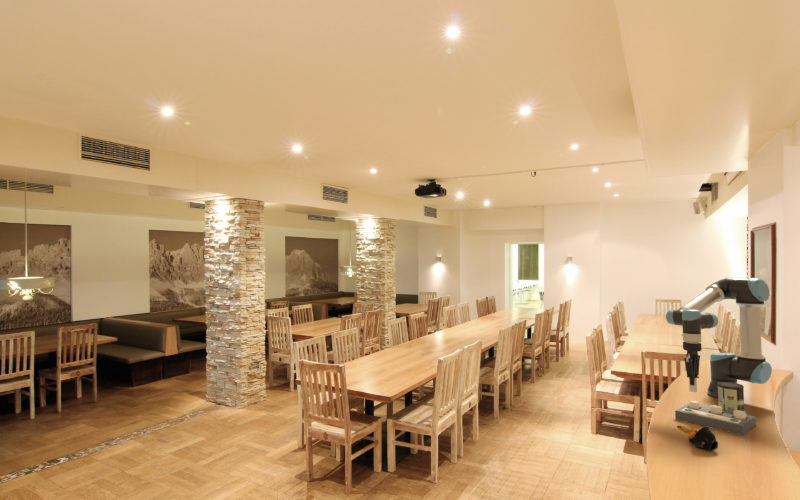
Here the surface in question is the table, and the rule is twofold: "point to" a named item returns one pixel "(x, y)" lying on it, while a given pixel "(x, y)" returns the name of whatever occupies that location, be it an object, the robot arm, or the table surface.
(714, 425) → the button board
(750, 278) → the robot arm
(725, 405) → the coffee can
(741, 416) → the end button
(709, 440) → the black bulb with handle
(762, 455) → the table surface
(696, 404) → the end button
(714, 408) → the middle button
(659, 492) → the table surface
